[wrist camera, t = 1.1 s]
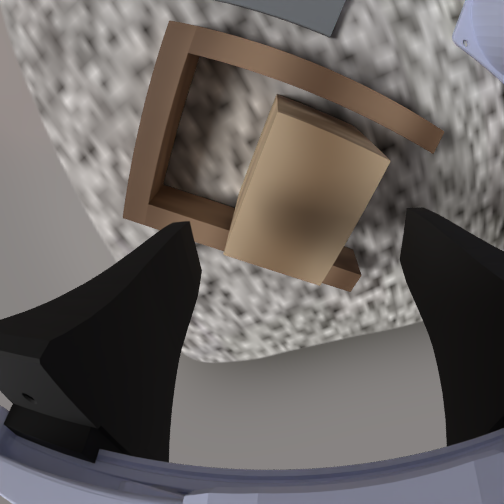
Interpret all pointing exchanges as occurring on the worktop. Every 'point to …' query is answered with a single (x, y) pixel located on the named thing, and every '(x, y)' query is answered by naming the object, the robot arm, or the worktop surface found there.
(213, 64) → the worktop surface
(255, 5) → the mat
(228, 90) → the worktop surface
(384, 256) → the worktop surface
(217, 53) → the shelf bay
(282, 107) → the gripped blank
